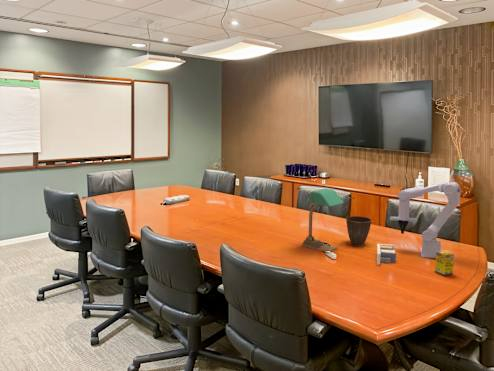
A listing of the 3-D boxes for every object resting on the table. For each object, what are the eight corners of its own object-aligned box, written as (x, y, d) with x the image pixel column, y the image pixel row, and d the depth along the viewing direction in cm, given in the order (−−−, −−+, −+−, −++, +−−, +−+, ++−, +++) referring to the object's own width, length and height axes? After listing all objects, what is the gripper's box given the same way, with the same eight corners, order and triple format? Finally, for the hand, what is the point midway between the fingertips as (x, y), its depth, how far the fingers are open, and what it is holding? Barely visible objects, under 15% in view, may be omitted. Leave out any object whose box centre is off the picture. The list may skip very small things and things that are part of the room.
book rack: (393, 255, 242) (393, 245, 241) (394, 266, 224) (395, 255, 223) (376, 253, 244) (377, 243, 243) (376, 264, 226) (377, 253, 225)
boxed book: (394, 260, 233) (395, 250, 233) (395, 262, 230) (396, 252, 229) (379, 259, 235) (380, 249, 235) (380, 261, 232) (380, 251, 231)
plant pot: (374, 244, 262) (375, 218, 260) (363, 249, 251) (364, 223, 249) (352, 239, 272) (353, 215, 270) (340, 244, 261) (341, 219, 259)
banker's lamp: (313, 241, 267) (315, 186, 262) (342, 249, 253) (345, 190, 247) (298, 247, 256) (299, 189, 250) (327, 255, 242) (329, 194, 236)
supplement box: (444, 276, 210) (445, 254, 208) (434, 272, 216) (436, 251, 214) (452, 274, 212) (454, 253, 211) (443, 270, 218) (444, 249, 216)
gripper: (390, 211, 245) (389, 233, 247) (418, 212, 241) (416, 236, 243) (390, 208, 251) (389, 230, 254) (416, 210, 247) (415, 232, 250)
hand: (402, 233), depth 249 cm, fingers closed
